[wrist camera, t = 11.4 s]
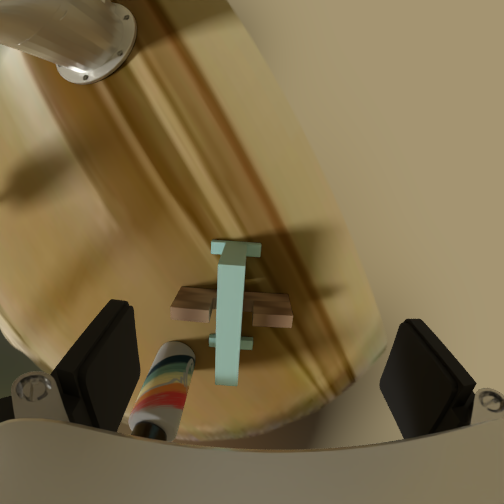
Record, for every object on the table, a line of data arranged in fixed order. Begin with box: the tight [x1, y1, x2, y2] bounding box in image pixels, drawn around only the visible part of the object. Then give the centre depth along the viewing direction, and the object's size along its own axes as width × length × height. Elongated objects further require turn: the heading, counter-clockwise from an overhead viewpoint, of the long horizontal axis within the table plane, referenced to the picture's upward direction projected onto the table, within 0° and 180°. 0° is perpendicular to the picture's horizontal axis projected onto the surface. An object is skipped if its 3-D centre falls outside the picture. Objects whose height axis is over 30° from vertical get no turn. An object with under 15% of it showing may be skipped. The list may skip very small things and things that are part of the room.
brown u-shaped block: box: [170, 287, 293, 328], centre depth 38 cm, size 14×2×6 cm, turn 86°
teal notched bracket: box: [209, 240, 261, 386], centre depth 37 cm, size 15×6×9 cm, turn 176°
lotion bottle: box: [129, 341, 195, 442], centre depth 34 cm, size 6×6×20 cm
